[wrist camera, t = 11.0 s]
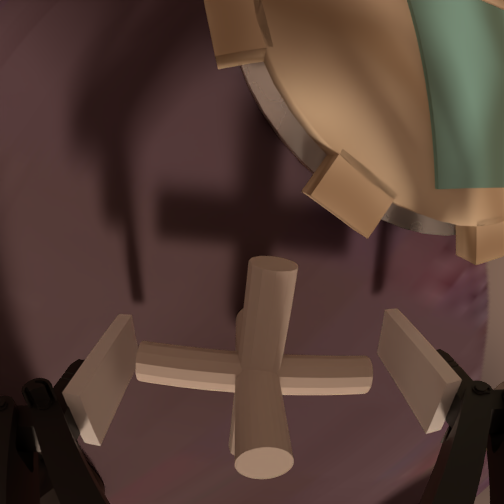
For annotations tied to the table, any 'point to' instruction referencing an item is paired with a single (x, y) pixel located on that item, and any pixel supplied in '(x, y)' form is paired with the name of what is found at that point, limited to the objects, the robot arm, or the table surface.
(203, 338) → the table surface
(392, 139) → the sprocket
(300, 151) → the sprocket base
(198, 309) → the table surface
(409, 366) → the robot arm
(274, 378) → the light wooden cross
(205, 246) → the table surface
